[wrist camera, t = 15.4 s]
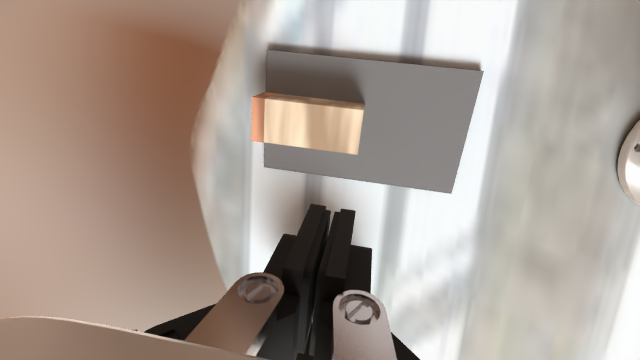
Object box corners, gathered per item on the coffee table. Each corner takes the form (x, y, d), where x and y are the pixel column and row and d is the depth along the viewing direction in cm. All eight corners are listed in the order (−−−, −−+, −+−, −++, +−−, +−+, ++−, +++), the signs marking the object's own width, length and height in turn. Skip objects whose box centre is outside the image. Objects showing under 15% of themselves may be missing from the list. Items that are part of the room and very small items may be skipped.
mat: (481, 70, 30) (483, 71, 29) (449, 190, 34) (451, 193, 33) (269, 50, 32) (266, 49, 31) (266, 164, 36) (263, 167, 36)
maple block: (363, 110, 28) (251, 97, 29) (357, 155, 29) (251, 140, 31) (365, 103, 32) (265, 92, 33) (359, 143, 33) (264, 131, 34)
